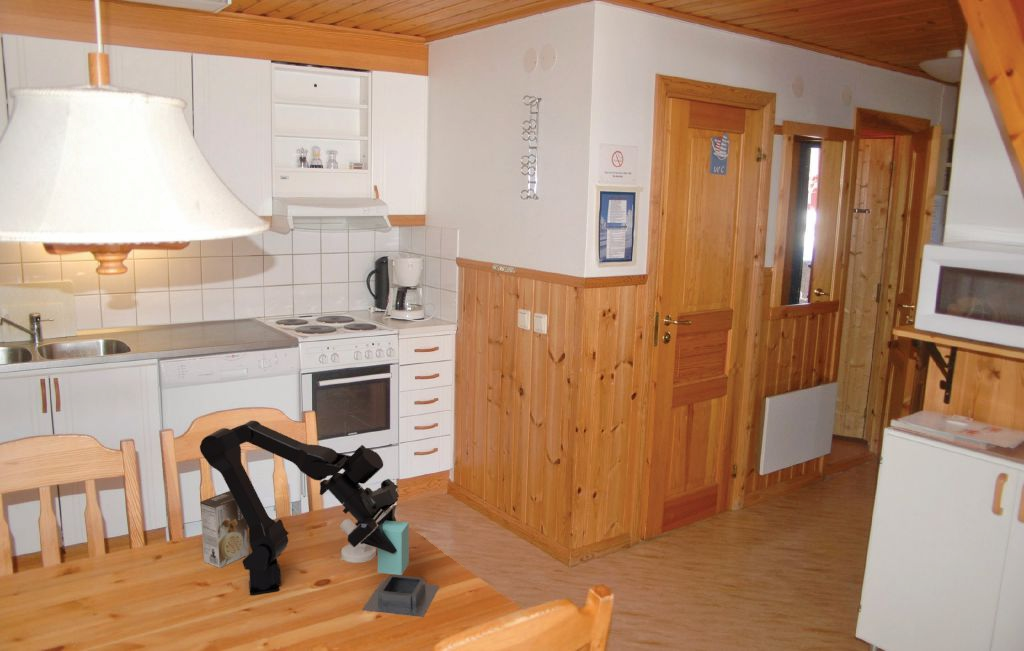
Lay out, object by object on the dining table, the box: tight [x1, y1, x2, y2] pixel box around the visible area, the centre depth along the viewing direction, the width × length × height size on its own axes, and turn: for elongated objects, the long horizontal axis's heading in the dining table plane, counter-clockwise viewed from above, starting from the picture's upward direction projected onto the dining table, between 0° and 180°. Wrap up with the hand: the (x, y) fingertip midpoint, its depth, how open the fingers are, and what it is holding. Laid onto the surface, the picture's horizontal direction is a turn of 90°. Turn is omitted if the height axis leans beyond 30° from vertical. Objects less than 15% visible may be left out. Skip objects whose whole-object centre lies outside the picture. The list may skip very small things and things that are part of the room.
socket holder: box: [361, 574, 441, 618], centre depth 178 cm, size 14×14×4 cm
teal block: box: [377, 520, 410, 576], centre depth 177 cm, size 6×6×10 cm
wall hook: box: [339, 518, 377, 564], centre depth 199 cm, size 9×10×10 cm
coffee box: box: [199, 490, 250, 569], centre depth 197 cm, size 9×6×16 cm
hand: (399, 546), depth 177 cm, fingers closed on teal block, 5 cm apart
